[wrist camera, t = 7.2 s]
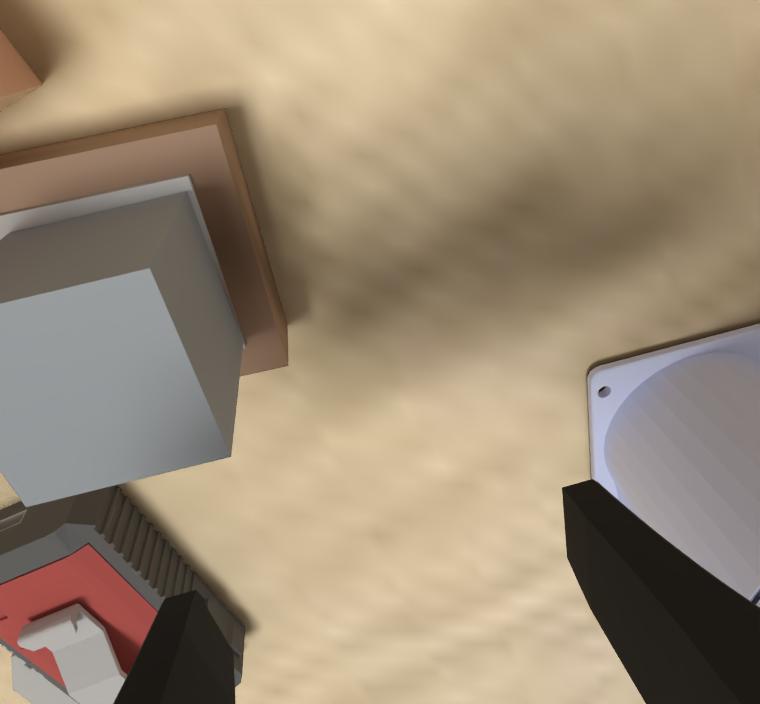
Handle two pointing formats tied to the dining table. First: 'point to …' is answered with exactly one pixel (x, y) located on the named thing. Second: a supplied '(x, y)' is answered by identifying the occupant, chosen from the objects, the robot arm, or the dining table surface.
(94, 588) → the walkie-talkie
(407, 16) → the dining table surface
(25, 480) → the slate cube
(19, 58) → the terracotta cube
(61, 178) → the walnut block
